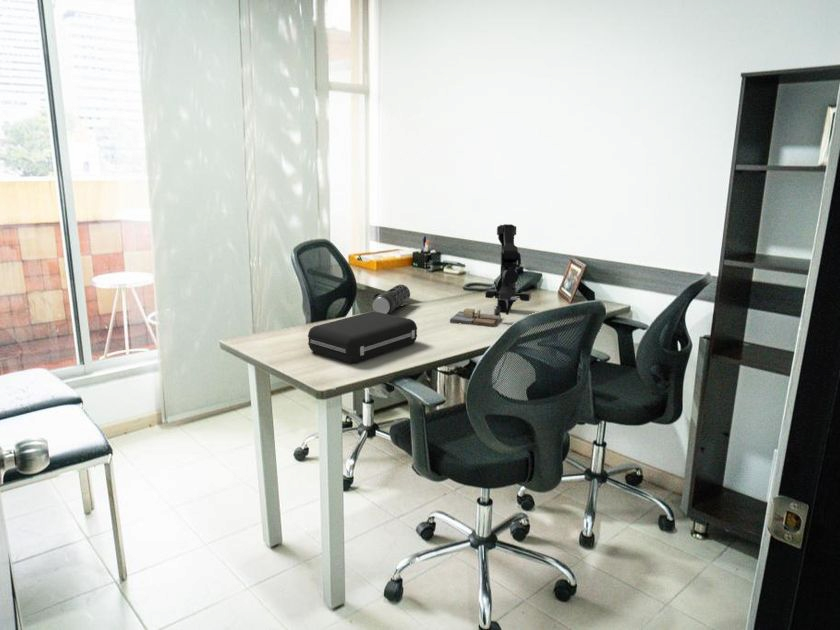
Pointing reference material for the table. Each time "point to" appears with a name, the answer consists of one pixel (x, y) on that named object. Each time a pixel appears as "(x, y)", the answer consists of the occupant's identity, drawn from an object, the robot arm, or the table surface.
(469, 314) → the brass keeper
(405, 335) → the briefcase
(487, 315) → the steel bolt
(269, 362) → the table surface
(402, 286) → the dark grey textured cylinder
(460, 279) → the table surface
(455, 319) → the board
